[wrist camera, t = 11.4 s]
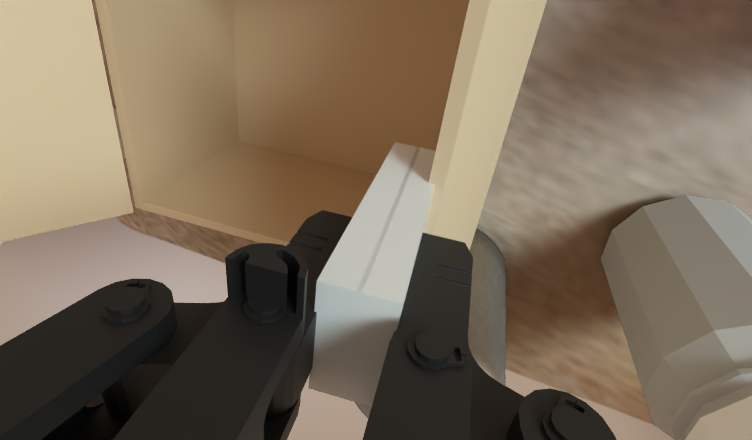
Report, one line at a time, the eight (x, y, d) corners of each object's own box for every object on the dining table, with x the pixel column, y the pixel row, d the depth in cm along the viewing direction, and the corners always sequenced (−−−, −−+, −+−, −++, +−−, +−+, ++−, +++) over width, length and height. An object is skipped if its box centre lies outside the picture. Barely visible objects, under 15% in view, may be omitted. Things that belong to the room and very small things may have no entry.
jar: (652, 166, 29) (810, 378, 14) (793, 222, 28) (1120, 509, 13) (572, 269, 34) (622, 505, 19) (689, 319, 34) (837, 601, 18)
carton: (555, -100, 23) (590, -155, 13) (469, 199, 33) (452, 296, 23) (226, -143, 26) (53, -214, 16) (237, 143, 36) (135, 207, 26)
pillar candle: (379, 229, 37) (314, 363, 25) (493, 208, 33) (483, 354, 21) (413, 314, 41) (372, 467, 29) (518, 304, 37) (523, 475, 25)
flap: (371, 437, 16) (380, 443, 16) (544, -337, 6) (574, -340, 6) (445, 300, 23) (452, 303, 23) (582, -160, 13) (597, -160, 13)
